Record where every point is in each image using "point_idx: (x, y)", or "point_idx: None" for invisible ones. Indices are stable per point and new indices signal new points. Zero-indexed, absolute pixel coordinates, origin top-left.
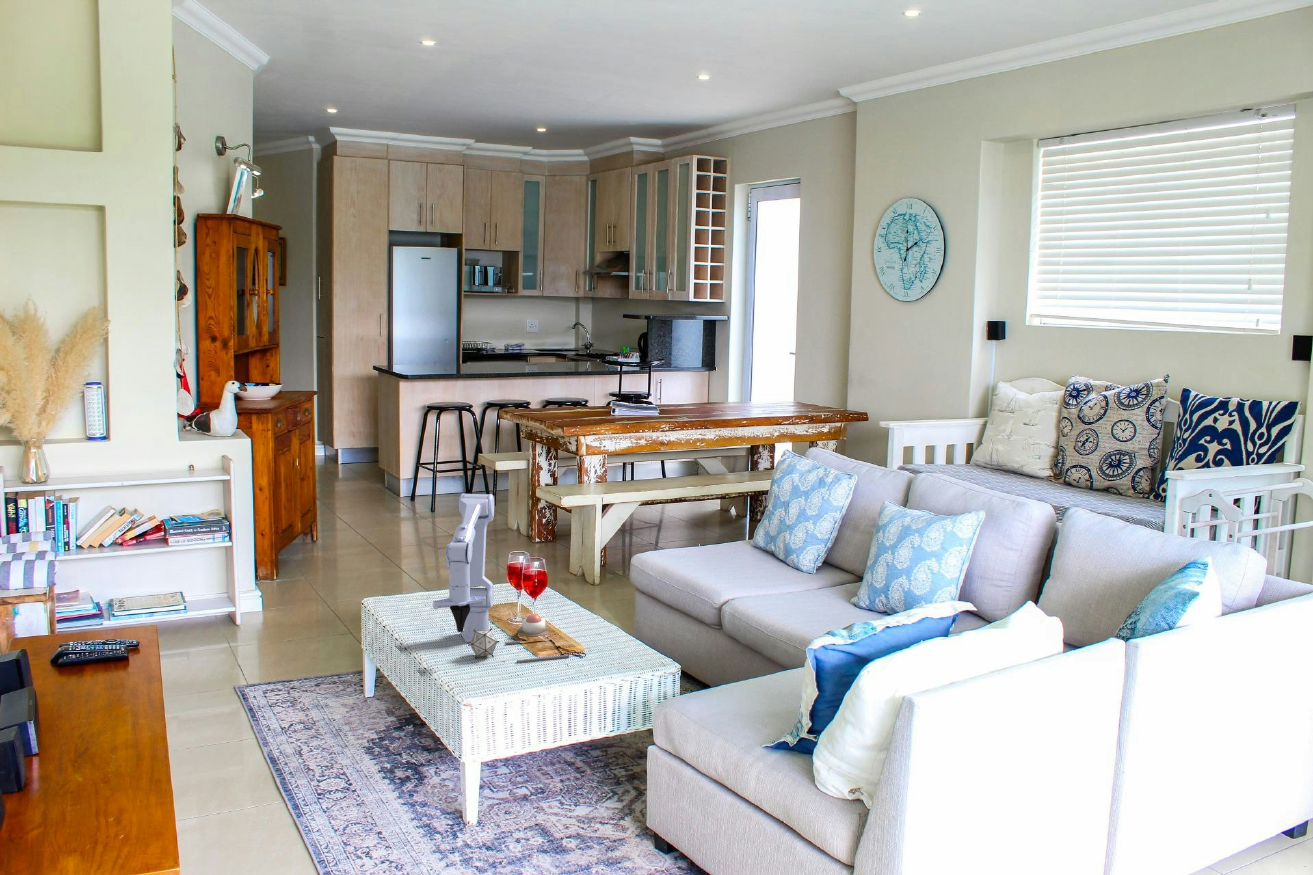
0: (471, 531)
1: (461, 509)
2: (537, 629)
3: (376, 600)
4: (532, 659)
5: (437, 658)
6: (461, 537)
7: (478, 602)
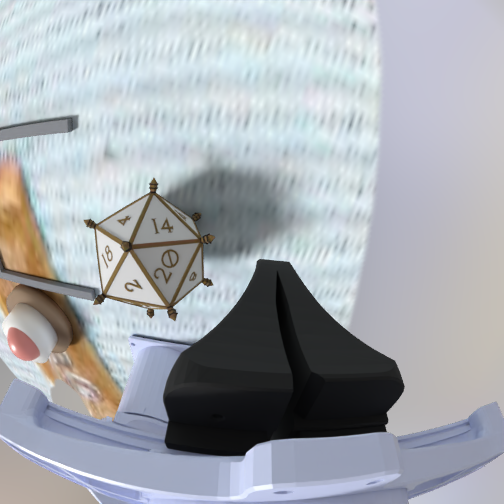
0: None
1: None
2: (18, 310)
3: None
4: (29, 128)
5: (325, 270)
6: None
7: (71, 429)
